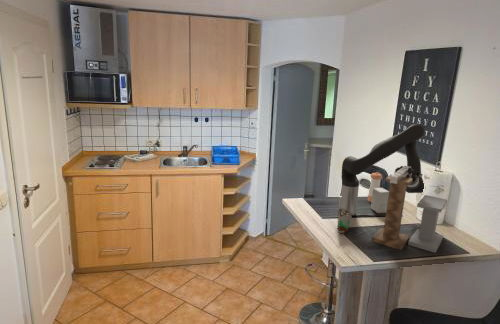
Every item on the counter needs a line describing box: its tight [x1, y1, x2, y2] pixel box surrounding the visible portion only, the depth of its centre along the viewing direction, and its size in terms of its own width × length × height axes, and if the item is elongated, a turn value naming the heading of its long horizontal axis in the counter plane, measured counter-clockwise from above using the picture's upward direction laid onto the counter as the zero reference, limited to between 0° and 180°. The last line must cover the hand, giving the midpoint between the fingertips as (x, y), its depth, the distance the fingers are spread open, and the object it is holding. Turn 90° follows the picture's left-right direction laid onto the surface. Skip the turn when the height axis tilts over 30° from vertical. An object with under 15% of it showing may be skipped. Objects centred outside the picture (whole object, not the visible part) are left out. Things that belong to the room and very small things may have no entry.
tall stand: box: [371, 174, 413, 251], centre depth 167 cm, size 14×14×32 cm
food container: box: [337, 207, 353, 235], centre depth 179 cm, size 12×6×10 cm, turn 168°
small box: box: [370, 187, 389, 214], centre depth 206 cm, size 8×6×13 cm
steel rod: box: [389, 165, 411, 184], centre depth 164 cm, size 3×24×3 cm, turn 143°
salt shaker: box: [367, 171, 383, 203], centre depth 221 cm, size 7×7×19 cm
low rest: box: [407, 194, 448, 254], centre depth 168 cm, size 12×18×21 cm, turn 142°
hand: (405, 168), depth 168 cm, fingers closed on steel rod, 3 cm apart
